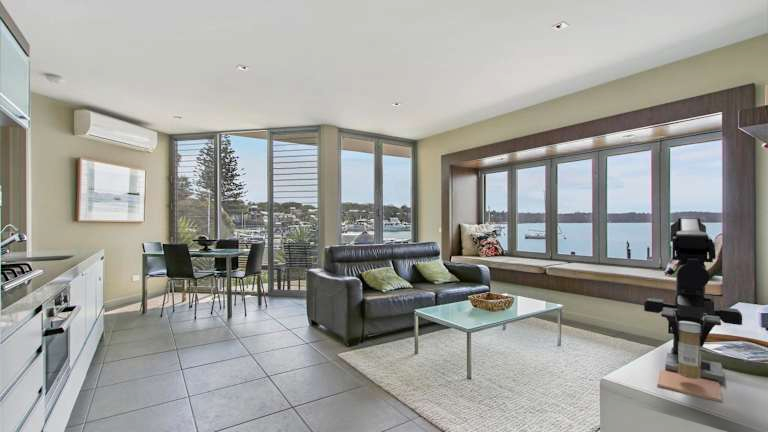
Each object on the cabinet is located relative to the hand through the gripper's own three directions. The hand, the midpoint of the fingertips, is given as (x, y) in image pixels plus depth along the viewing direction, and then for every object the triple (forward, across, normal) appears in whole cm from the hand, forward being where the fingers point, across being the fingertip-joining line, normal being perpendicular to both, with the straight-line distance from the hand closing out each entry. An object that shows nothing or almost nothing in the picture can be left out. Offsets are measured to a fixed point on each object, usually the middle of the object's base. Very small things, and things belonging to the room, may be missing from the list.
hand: (689, 344), depth 94 cm
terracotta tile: (+10, 0, 0) cm, 10 cm away
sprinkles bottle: (+8, 0, 0) cm, 8 cm away
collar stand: (+10, +1, +13) cm, 17 cm away
